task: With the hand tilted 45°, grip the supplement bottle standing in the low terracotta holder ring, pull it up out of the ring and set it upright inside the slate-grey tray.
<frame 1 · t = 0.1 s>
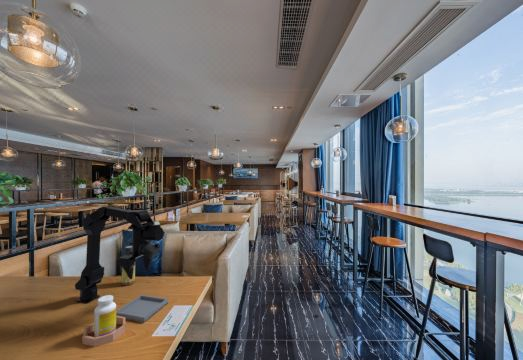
hand: (139, 274, 99), 15 cm above the table, tool pointing down, fingers open, 9 cm apart
sauce bottle: (128, 283, 121), on the table
tray: (142, 309, 97), on the table
supplement bottle: (105, 333, 82), resting in holder ring
holder ring: (105, 333, 82), on the table
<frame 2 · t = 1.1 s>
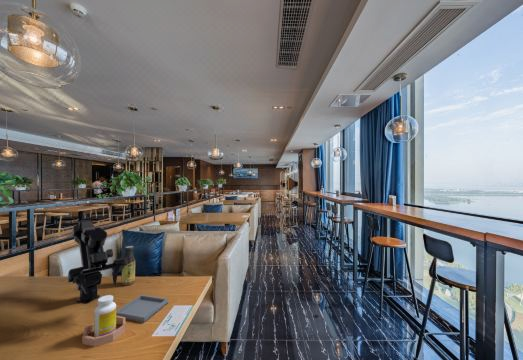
hand: (101, 289, 88), 13 cm above the table, tool tilted 45°, fingers open, 9 cm apart
nothing on the table moved.
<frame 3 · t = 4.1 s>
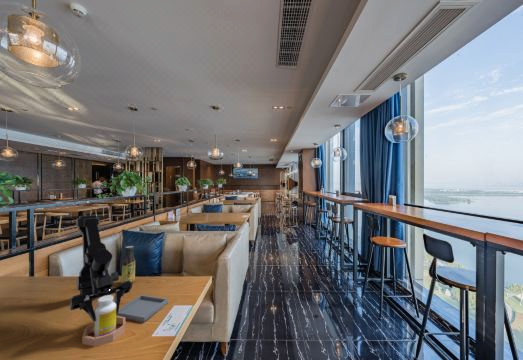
hand: (106, 316, 81), 7 cm above the table, tool tilted 45°, fingers closed on supplement bottle, 7 cm apart
supplement bottle: (105, 333, 82), resting in holder ring, touching gripper
everything else where it was.
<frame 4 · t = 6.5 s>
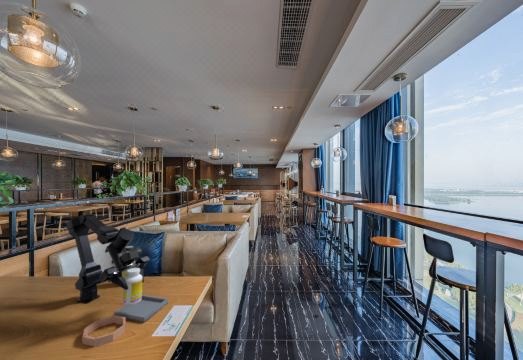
hand: (135, 285, 91), 13 cm above the table, tool tilted 45°, fingers closed on supplement bottle, 7 cm apart
supplement bottle: (132, 301, 92), point 6 cm above the table, touching gripper
everything else where it was.
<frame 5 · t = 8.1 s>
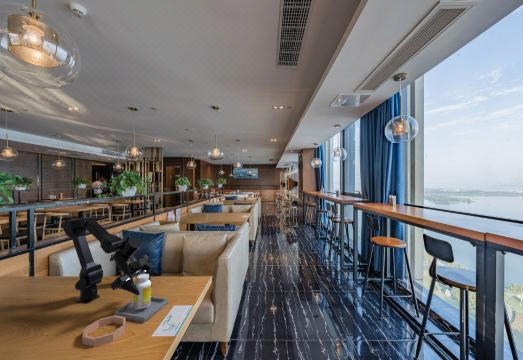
hand: (145, 290, 97), 8 cm above the table, tool tilted 45°, fingers closed on supplement bottle, 7 cm apart
supplement bottle: (142, 306, 97), point 2 cm above the table, touching gripper
everything else where it was.
when the fingers open (8 cm above the table, at t = 9.1 s): supplement bottle stays where it is, resting on tray.
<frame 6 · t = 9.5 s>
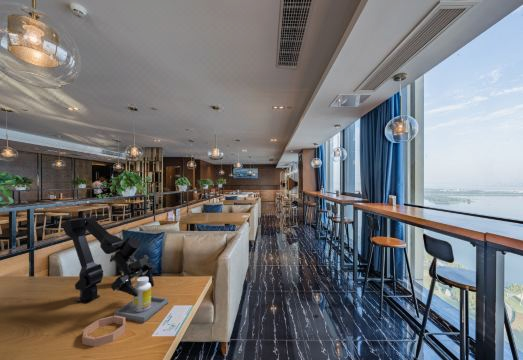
hand: (145, 290, 97), 8 cm above the table, tool tilted 45°, fingers open, 9 cm apart
supplement bottle: (142, 308, 97), resting on tray
everything else where it was.
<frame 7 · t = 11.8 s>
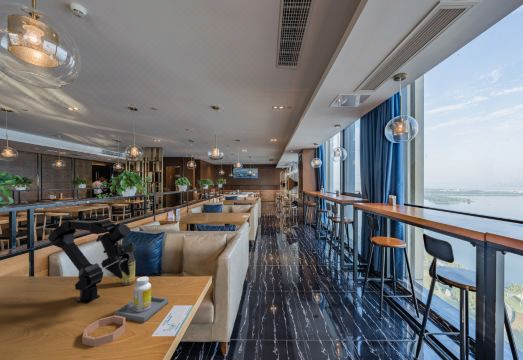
hand: (125, 276, 101), 13 cm above the table, tool tilted 30°, fingers open, 9 cm apart
nothing on the table moved.
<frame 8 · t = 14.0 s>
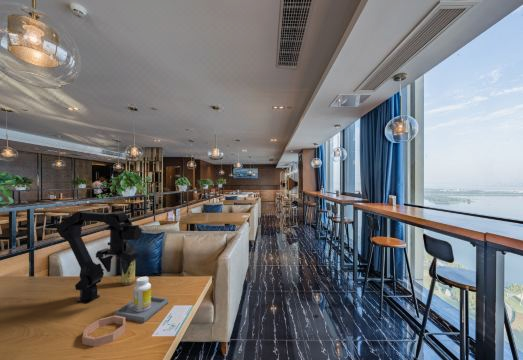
hand: (116, 272, 104), 13 cm above the table, tool pointing down, fingers open, 9 cm apart
nothing on the table moved.
at the end: supplement bottle inside the target area on the tray (0.2 cm from its centre), point 0.4 cm above the tray's base; supplement bottle tilted 0°; the gripper is holding nothing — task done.
